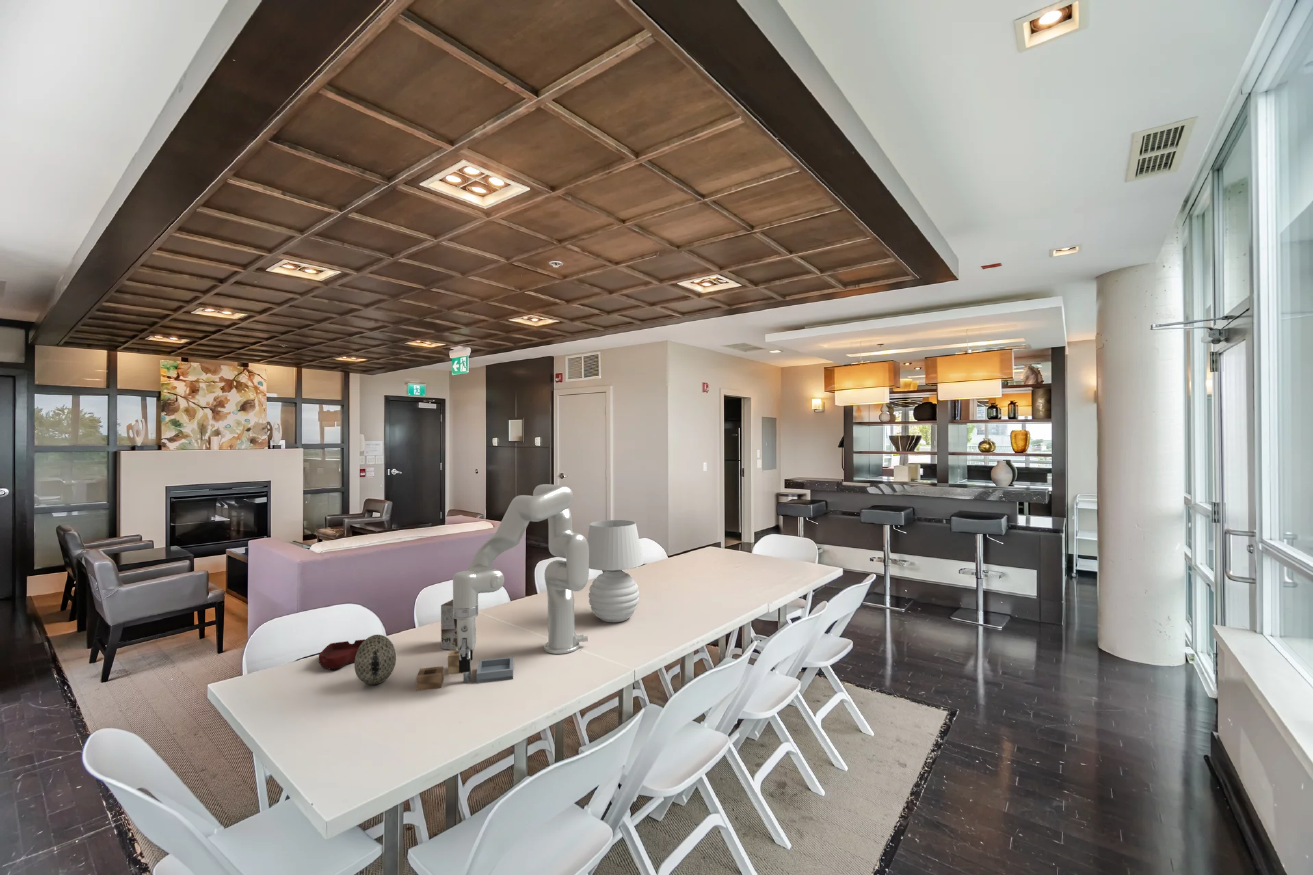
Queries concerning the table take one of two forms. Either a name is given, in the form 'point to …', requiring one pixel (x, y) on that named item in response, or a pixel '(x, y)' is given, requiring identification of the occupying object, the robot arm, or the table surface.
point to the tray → (495, 670)
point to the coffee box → (448, 627)
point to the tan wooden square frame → (430, 678)
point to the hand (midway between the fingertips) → (466, 665)
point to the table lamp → (614, 568)
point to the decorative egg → (375, 659)
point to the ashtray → (339, 654)
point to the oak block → (453, 662)
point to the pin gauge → (467, 674)
